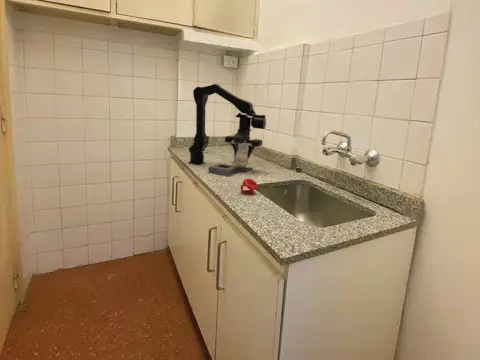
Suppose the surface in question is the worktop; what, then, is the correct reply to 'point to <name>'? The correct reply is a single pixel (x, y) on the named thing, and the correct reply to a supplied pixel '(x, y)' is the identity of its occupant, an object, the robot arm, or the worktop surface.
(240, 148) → the supplement box
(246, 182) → the red plastic curved piece
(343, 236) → the worktop surface
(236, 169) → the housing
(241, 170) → the rubber mat
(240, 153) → the end cover
